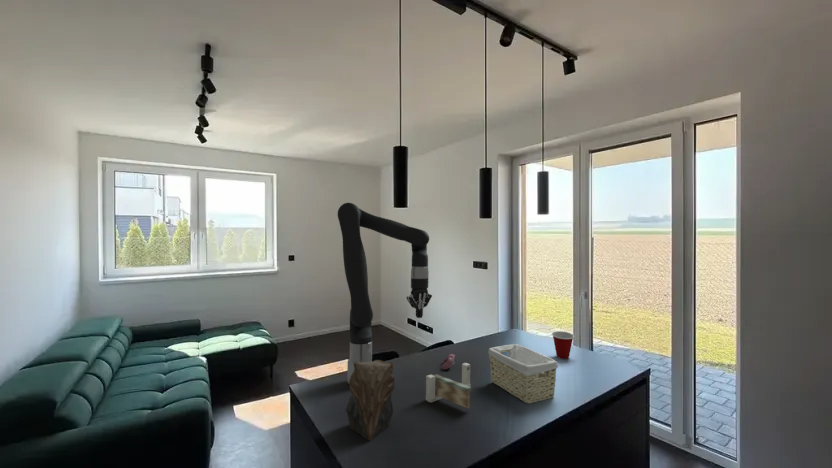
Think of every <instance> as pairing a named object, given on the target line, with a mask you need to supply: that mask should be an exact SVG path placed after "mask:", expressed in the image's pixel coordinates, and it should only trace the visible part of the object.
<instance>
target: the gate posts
mask: <svg viewBox="0 0 832 468" xmlns="http://www.w3.org/2000/svg"><path fill="white" fill-rule="evenodd" d="M433 375H434V374H428V375H426V376H425V378H426V379H425V382H426V383H425V401H427V402H428V403H434V402H436V401H438V400H441V399H443V398H442V397H439V396H436V395H435V376H433ZM460 383H461V384H464V385H467V386H470V387H472V385H471V364H470V363H468V362H463V363H461V382H460Z"/></svg>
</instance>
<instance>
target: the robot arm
mask: <svg viewBox="0 0 832 468" xmlns="http://www.w3.org/2000/svg"><path fill="white" fill-rule="evenodd" d="M337 219H338V223H339V228H340V231H341V237H342V257H343V267H344V273H345V278H346V282H347V287H348V291H349V295H350V311H349V359H348V360H347V371H346V372H347V374H346V375H347V381H346V382H347V384H348V385H350V383H349V382H350V378H351V377H350V376H351V375H352V373H353V371H354V369H355V368H354V363H355V362H369V361H370V362H372V361H373V331H372V325H373V324H372V321H373V318H374V312H373V309H372V304H371V300H370V295H369V278H368V277H369V276H368V273H369V272H368V264H367V258H366V252H365V247H364V244H363V241H362V236H361V228H365V229H367V230H370V231H371V230H372V231H374V232H377V233H379V234H381V235H383V236H386V237H389V238H392V239H395V240H399V241H402V242H403V241H404V242H406V243H408V244H411V270H410V289H411V291H410V295H409V296H407V295H406V300H407V302H408V303H409V305H410V306H411V308H414V309H415V317H416V318H417V319H421V318H423V316H424V308H426V307H427V306H428V304H429V303H430V300H431V298H432V297H433V295H432V294H430V293H429V290H428V289H429V255H428V244H429V241H430V236H429V234H428V232H426V230H424V229H420V228H417V227H413V226H409V225H406V224H405V223H402V222H398V221H396V220H393V219H390V218H384V217H381V216H378V215H374V214H372V213H370V212H366V211H365V210H363V209H361V208H359V207H358V205H356V204H355V203H353V202H344V203H343V204H341V205H340V206H339V208H338V209H337Z"/></svg>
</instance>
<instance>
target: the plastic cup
mask: <svg viewBox="0 0 832 468" xmlns="http://www.w3.org/2000/svg"><path fill="white" fill-rule="evenodd" d="M551 336H552V338H553V343H554V349H555V354H556V358H558V357H559V358H558V359H561V358H562V359H563V360H567V359H569V358H570V354H571V350H572V344H573V341H574V338H575V335H574V334H573V333H571V332H567V331H561V330H560V331H558V330H557V331H552V333H551Z"/></svg>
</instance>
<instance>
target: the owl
mask: <svg viewBox="0 0 832 468" xmlns="http://www.w3.org/2000/svg"><path fill="white" fill-rule="evenodd" d="M354 368H355V369H354V371H353V373H352V375H351V376H350V377H351V378H350V382H349V383H350V384H349V389H350V390H349V391H350V392H351V395H350V398H349V399H348V403H347V405H346V408H345V411H346V414H347V418H348V423H349V429H350V430H352V431H354V433H357V434H358V435H360V436H361V438H363V439H366V440H367V441H369V442H371V441H373V440H374V439H375V438H376V437H377V436H380V434H381V433H383V432H384V431H385V429H387V428H388V427H390V424H391V423H390V422H391V420H392V416H393V414H394V409H393V401H392V395H393V391H394V390H395V375H394V373H393V370H394V362H387V361H384V360H381V359H375V360H372V362H370V361H369V362H355V363H354Z"/></svg>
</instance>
